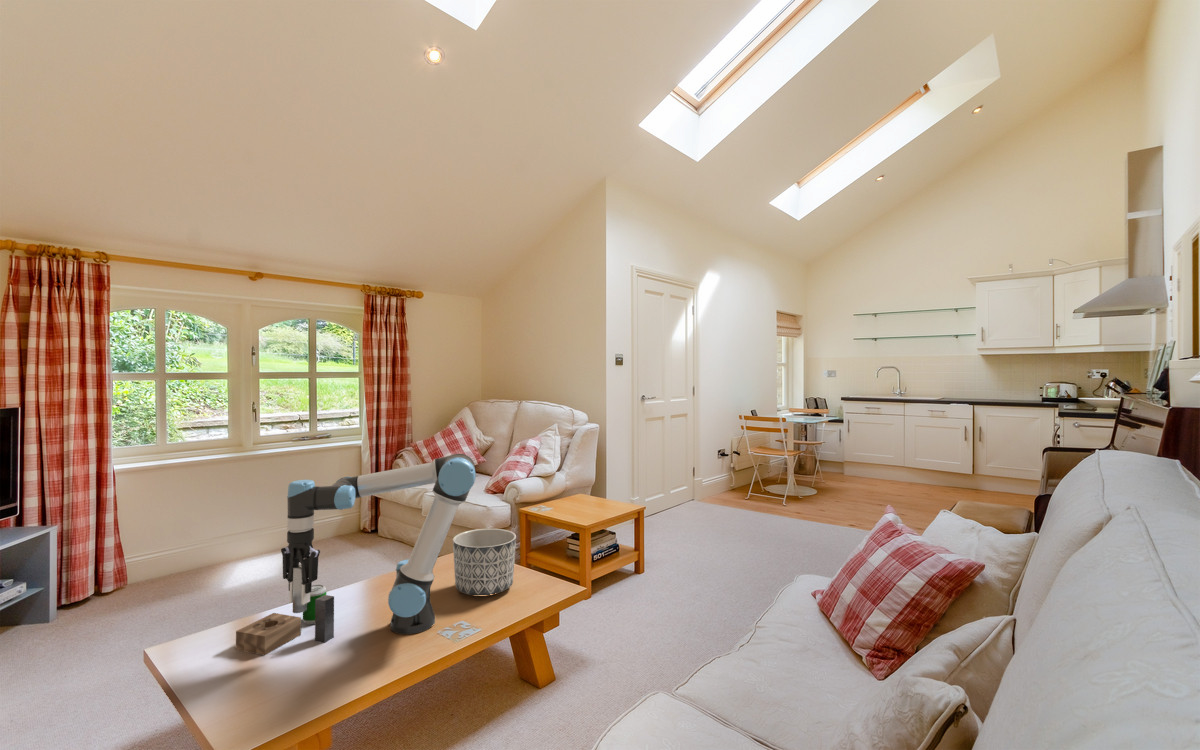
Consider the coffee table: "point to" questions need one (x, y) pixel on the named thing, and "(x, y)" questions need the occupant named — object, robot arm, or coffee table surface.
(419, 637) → the coffee table surface
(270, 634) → the bore block
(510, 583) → the planter
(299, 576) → the cylinder
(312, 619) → the soda can
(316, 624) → the square bit
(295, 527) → the robot arm
